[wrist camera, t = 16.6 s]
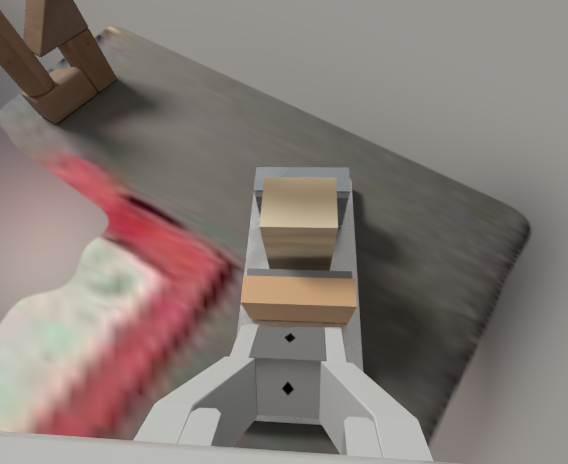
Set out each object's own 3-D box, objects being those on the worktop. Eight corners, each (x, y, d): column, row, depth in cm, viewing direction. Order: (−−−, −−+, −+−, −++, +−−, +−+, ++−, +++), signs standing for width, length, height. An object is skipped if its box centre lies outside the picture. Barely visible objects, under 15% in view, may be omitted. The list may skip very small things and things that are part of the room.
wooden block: (118, 79, 46) (21, -94, 30) (56, 126, 42) (-94, -46, 26) (102, 71, 47) (0, -100, 31) (39, 116, 43) (-114, -55, 27)
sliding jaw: (348, 323, 26) (356, 306, 22) (250, 319, 26) (240, 302, 22) (346, 292, 27) (354, 270, 23) (253, 289, 28) (244, 267, 24)
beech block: (328, 278, 28) (338, 228, 20) (271, 276, 28) (259, 226, 21) (327, 238, 30) (336, 177, 22) (274, 237, 30) (264, 177, 22)
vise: (363, 426, 24) (381, 432, 18) (231, 418, 25) (209, 421, 19) (349, 187, 34) (358, 144, 29) (257, 186, 35) (248, 144, 29)
